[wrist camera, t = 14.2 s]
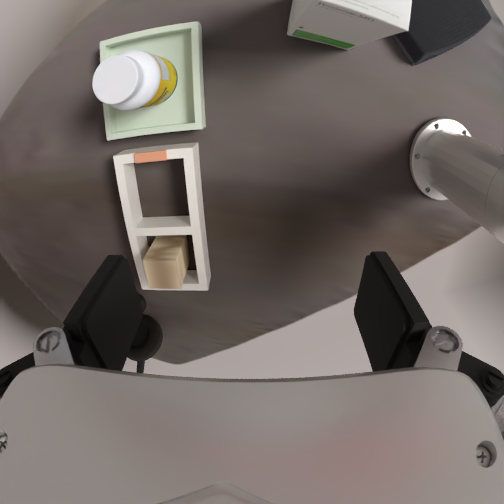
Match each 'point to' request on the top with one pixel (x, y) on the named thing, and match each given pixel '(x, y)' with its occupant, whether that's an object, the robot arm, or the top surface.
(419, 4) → the external hard drive
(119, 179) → the holder
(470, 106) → the top surface
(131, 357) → the headphones
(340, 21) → the skincare box
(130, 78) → the pill bottle
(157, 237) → the birch block
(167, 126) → the tray
